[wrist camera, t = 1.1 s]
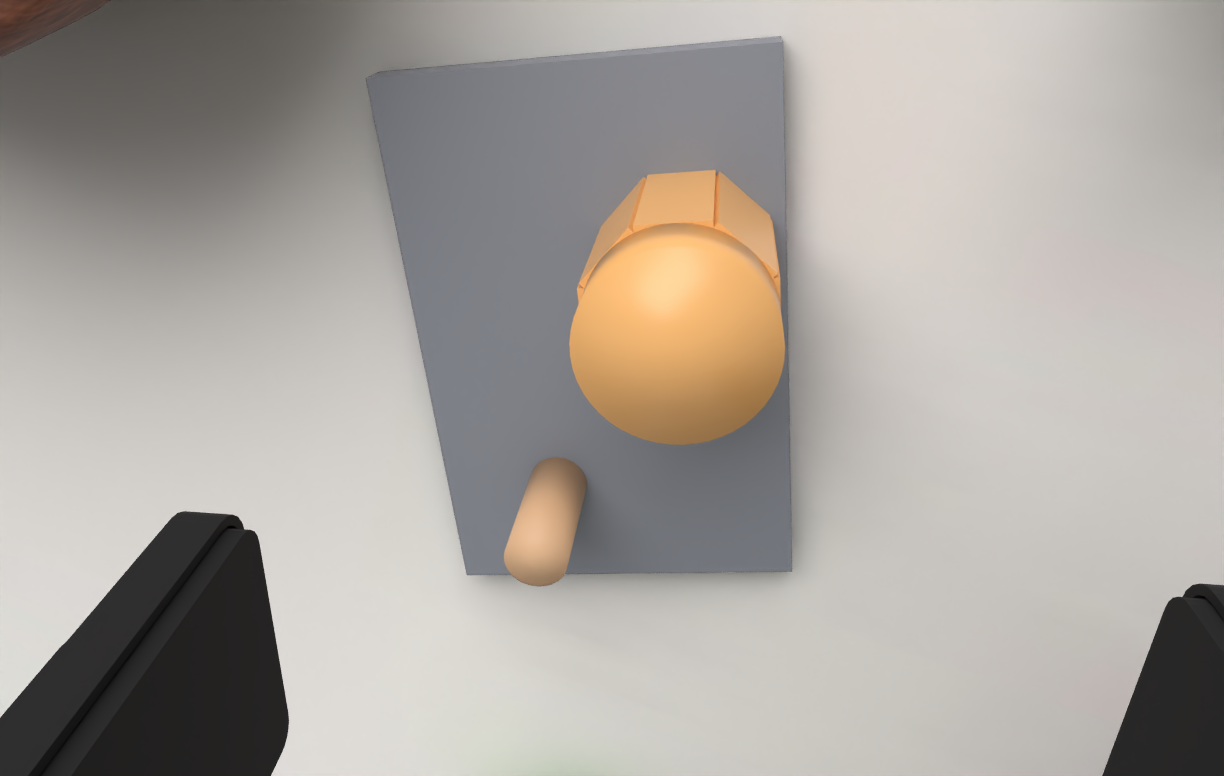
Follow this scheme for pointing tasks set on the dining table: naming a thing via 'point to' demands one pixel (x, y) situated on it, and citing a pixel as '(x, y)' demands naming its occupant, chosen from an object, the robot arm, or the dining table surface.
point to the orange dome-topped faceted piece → (680, 311)
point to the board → (576, 300)
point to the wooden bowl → (38, 19)
